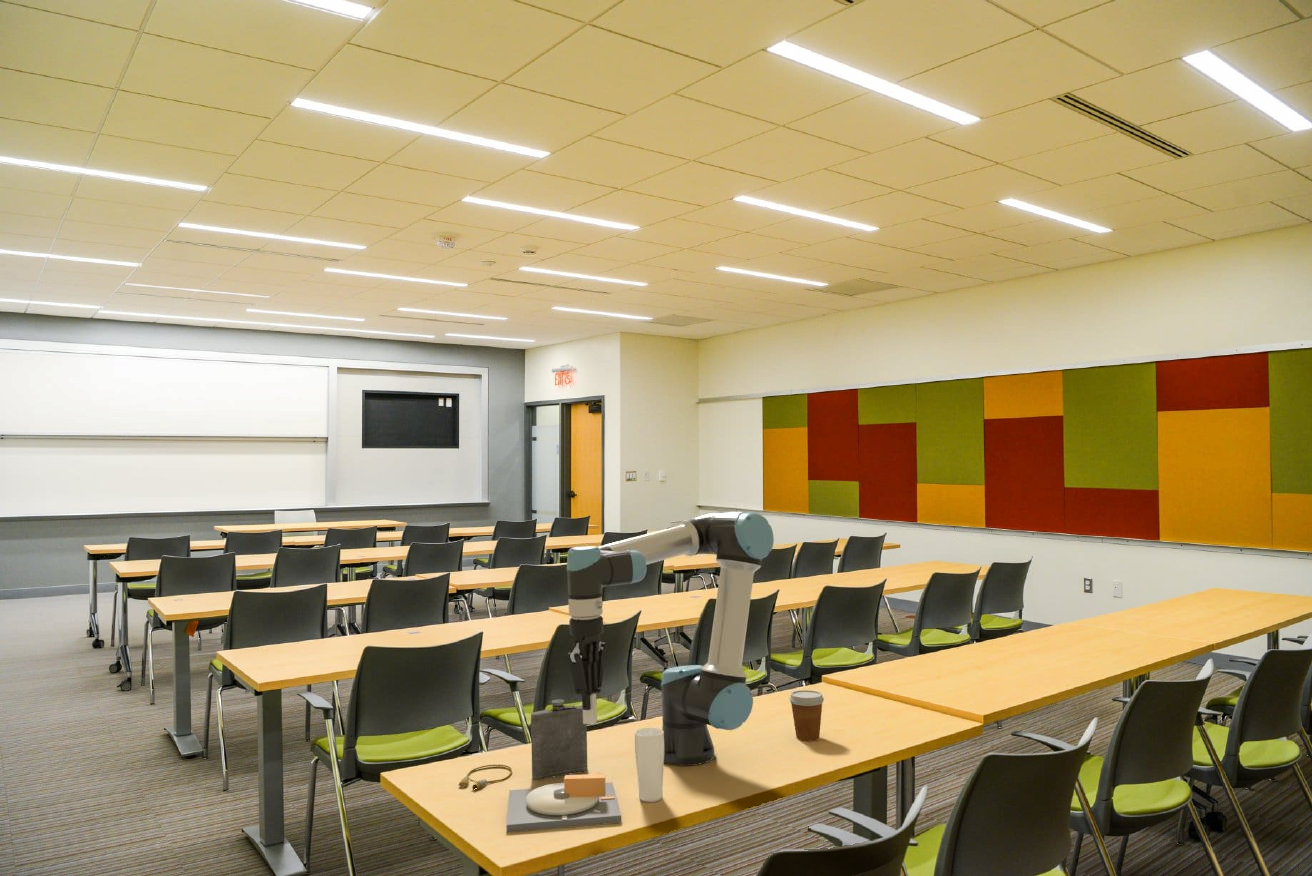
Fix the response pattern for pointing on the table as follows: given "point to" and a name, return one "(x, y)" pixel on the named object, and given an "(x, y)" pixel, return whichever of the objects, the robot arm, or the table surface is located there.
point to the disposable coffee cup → (807, 713)
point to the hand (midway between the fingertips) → (590, 723)
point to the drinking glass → (650, 763)
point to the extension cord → (483, 782)
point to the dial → (568, 795)
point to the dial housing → (530, 820)
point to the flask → (558, 741)
